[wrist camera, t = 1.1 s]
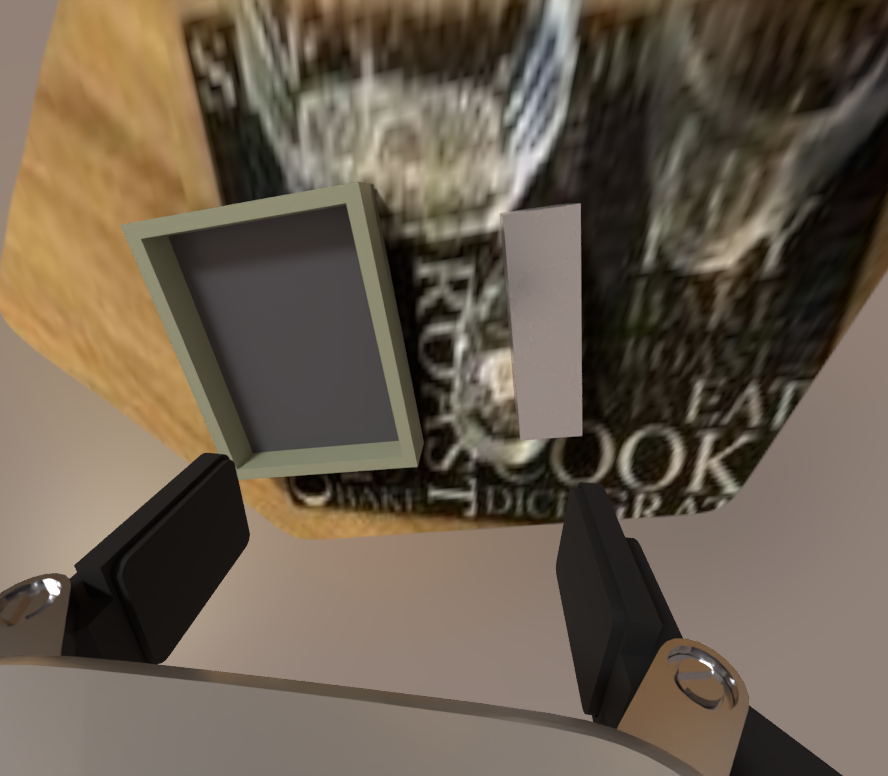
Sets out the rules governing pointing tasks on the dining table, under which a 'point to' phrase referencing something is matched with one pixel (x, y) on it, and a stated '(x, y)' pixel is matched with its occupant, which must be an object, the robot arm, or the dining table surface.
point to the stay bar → (545, 318)
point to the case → (287, 330)
